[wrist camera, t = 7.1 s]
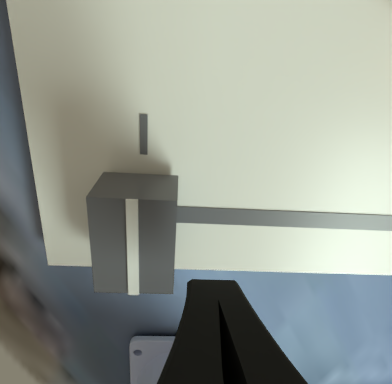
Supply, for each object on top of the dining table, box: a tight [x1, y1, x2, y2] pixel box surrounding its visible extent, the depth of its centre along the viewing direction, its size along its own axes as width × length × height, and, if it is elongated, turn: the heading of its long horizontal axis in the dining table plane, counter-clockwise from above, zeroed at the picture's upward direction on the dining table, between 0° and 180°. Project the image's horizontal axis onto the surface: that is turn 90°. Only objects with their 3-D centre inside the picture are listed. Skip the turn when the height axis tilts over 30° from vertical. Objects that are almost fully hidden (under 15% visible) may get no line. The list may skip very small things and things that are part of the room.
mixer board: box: [6, 0, 392, 275], centre depth 12 cm, size 18×19×2 cm
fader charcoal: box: [86, 172, 178, 295], centre depth 12 cm, size 4×3×2 cm
